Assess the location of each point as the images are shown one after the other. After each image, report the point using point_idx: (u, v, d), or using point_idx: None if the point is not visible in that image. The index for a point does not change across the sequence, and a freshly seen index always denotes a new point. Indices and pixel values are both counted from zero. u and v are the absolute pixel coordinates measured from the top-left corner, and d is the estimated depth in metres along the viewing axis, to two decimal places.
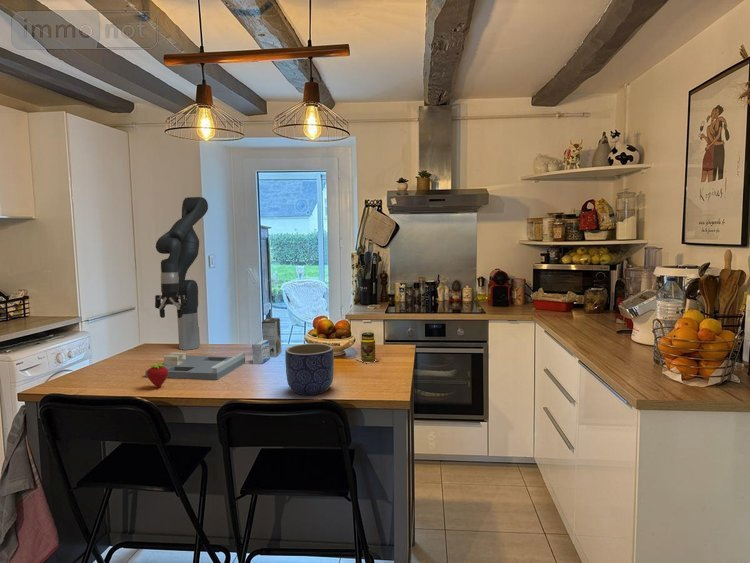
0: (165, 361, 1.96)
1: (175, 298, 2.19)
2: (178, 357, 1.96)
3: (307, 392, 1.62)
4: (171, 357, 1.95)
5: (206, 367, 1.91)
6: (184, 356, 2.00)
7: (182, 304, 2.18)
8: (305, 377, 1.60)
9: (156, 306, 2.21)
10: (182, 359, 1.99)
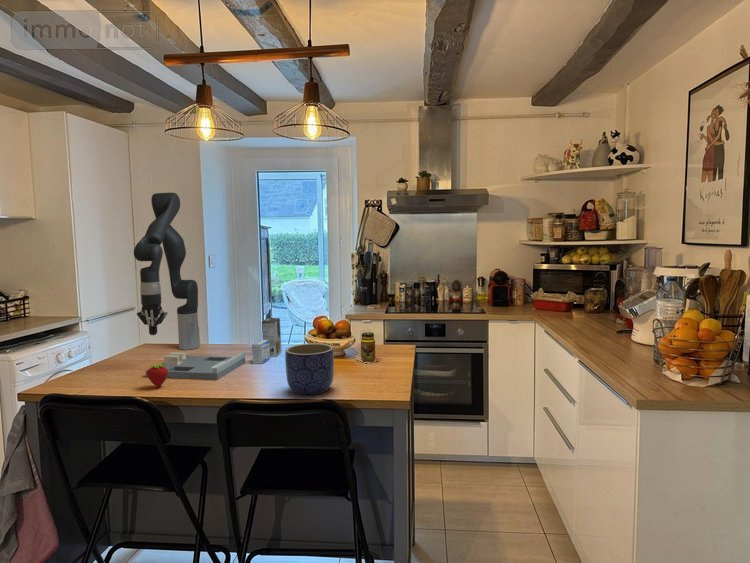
0: (165, 361, 1.96)
1: (156, 314, 1.97)
2: (178, 357, 1.96)
3: (307, 392, 1.62)
4: (171, 357, 1.95)
5: (206, 367, 1.91)
6: (184, 356, 2.00)
7: (158, 321, 1.97)
8: (305, 377, 1.60)
9: (144, 322, 1.98)
10: (182, 359, 1.99)
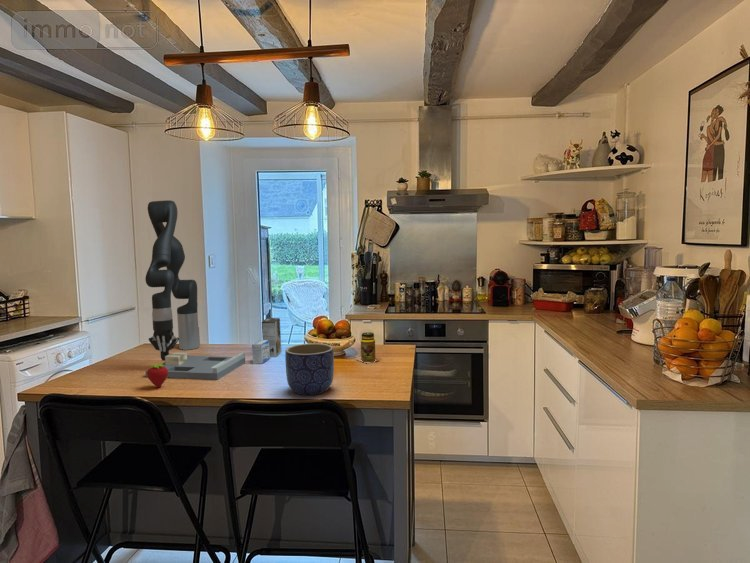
0: (166, 361, 1.96)
1: (168, 339, 1.97)
2: (179, 357, 1.96)
3: (307, 392, 1.62)
4: (172, 357, 1.95)
5: (206, 367, 1.91)
6: (185, 356, 2.00)
7: (170, 347, 1.97)
8: (305, 377, 1.60)
9: (156, 348, 1.98)
10: (183, 359, 1.99)
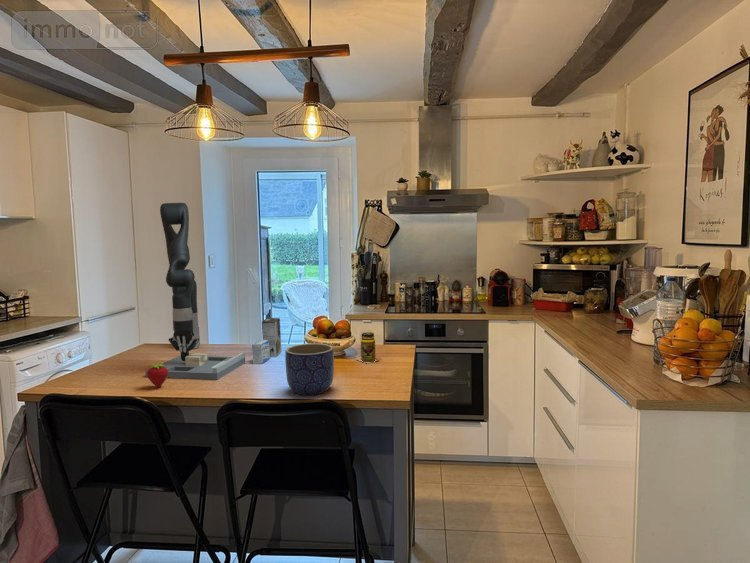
0: (187, 362, 1.94)
1: (188, 340, 1.95)
2: (200, 358, 1.94)
3: (307, 392, 1.62)
4: (193, 358, 1.94)
5: (206, 367, 1.91)
6: (206, 357, 1.98)
7: (190, 347, 1.95)
8: (305, 377, 1.60)
9: (176, 348, 1.96)
10: (204, 360, 1.97)
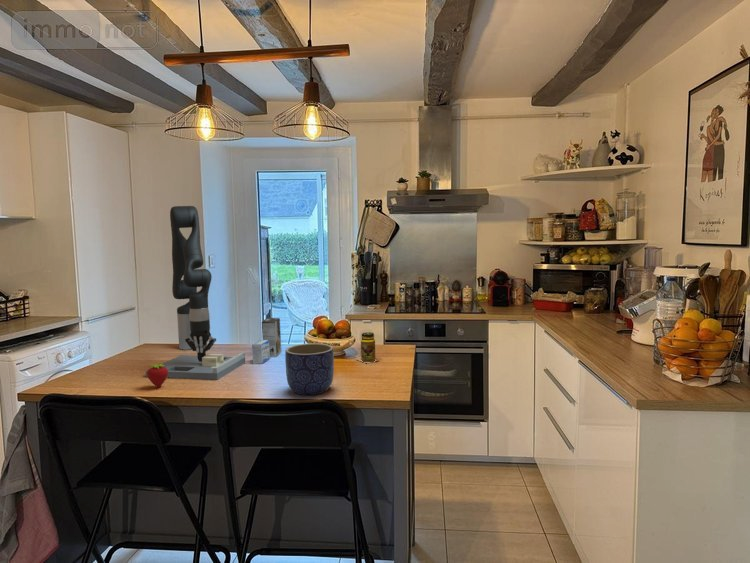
0: (203, 363, 1.93)
1: (205, 340, 1.94)
2: (217, 359, 1.92)
3: (307, 392, 1.62)
4: (210, 358, 1.92)
5: (206, 367, 1.91)
6: (222, 357, 1.97)
7: (207, 347, 1.94)
8: (305, 377, 1.60)
9: (193, 349, 1.95)
10: (220, 361, 1.95)
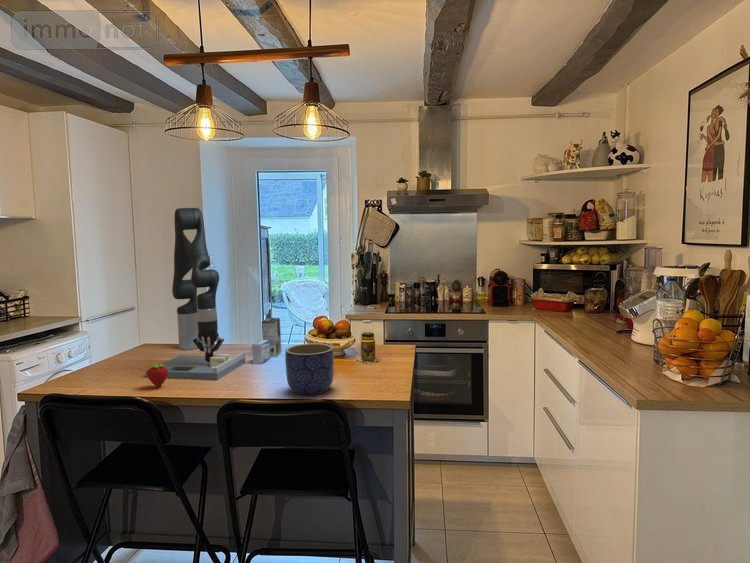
0: (211, 363, 1.92)
1: (213, 340, 1.93)
2: (225, 359, 1.92)
3: (307, 392, 1.62)
4: (218, 359, 1.91)
5: (206, 367, 1.91)
6: (230, 358, 1.96)
7: (215, 348, 1.94)
8: (305, 377, 1.60)
9: (201, 349, 1.95)
10: None
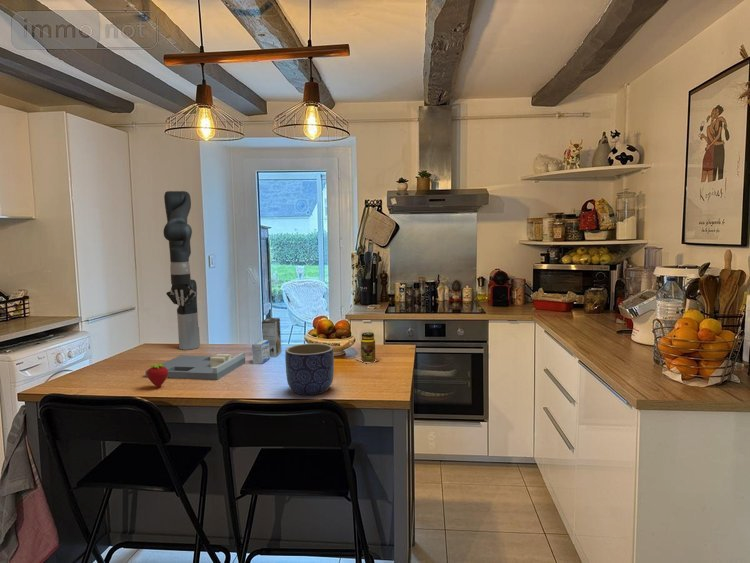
0: (211, 363, 1.92)
1: (186, 293, 1.98)
2: (225, 359, 1.92)
3: (307, 392, 1.62)
4: (218, 359, 1.91)
5: (206, 367, 1.91)
6: (230, 358, 1.96)
7: (188, 300, 1.98)
8: (305, 377, 1.60)
9: (174, 302, 1.99)
10: None
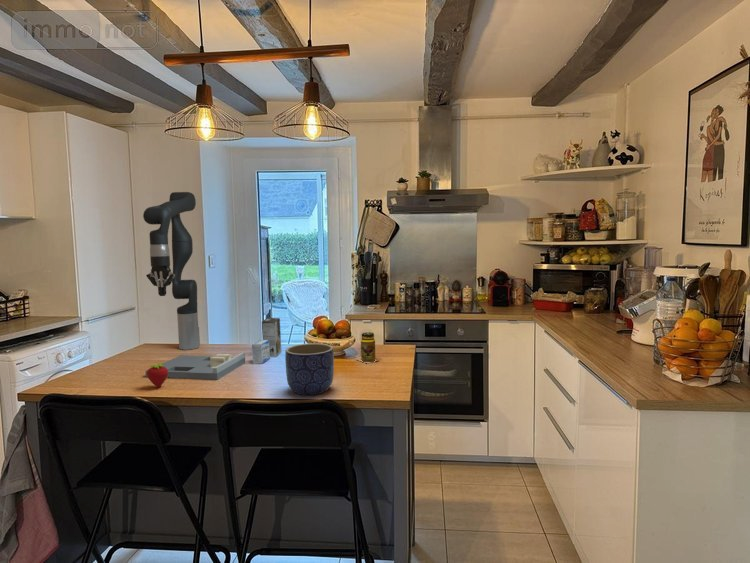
0: (211, 363, 1.92)
1: (165, 275, 2.04)
2: (225, 359, 1.92)
3: (307, 392, 1.62)
4: (218, 359, 1.91)
5: (206, 367, 1.91)
6: (230, 358, 1.96)
7: (167, 282, 2.04)
8: (305, 377, 1.60)
9: (154, 284, 2.06)
10: None
